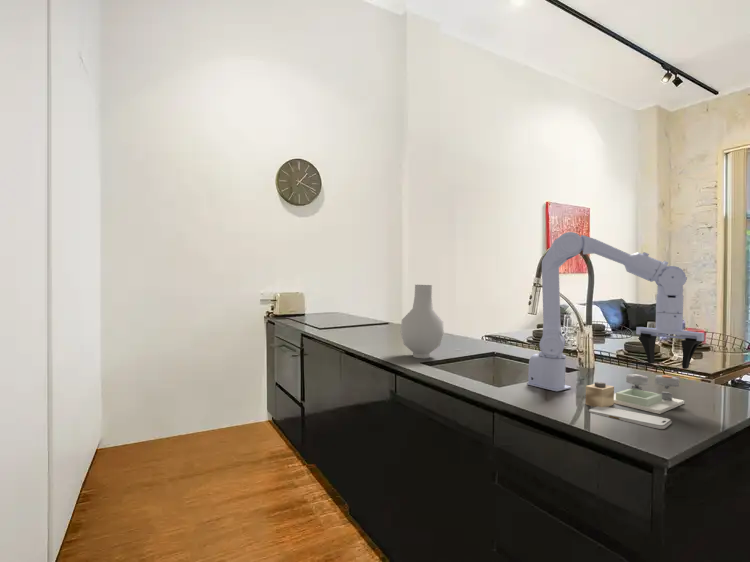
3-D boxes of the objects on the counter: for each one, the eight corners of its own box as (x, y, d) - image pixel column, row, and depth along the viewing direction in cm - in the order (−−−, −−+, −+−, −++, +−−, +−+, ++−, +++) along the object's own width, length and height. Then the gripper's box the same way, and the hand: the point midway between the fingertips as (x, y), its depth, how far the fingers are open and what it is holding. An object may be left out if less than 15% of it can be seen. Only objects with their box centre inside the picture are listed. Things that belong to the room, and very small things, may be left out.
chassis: (601, 400, 108) (602, 378, 108) (628, 391, 117) (629, 371, 117) (659, 413, 97) (660, 389, 97) (684, 403, 107) (684, 381, 107)
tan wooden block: (585, 404, 104) (586, 382, 104) (597, 401, 107) (597, 379, 107) (602, 408, 100) (602, 386, 100) (613, 405, 104) (614, 383, 104)
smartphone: (598, 404, 102) (672, 419, 91) (598, 409, 102) (672, 424, 91) (586, 410, 97) (663, 426, 86) (586, 415, 97) (663, 431, 86)
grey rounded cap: (652, 387, 108) (652, 375, 108) (659, 385, 111) (659, 373, 111) (674, 391, 104) (675, 379, 104) (681, 389, 107) (682, 377, 107)
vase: (424, 352, 175) (426, 284, 175) (451, 358, 161) (454, 285, 161) (391, 354, 165) (393, 283, 165) (418, 362, 152) (420, 284, 152)
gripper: (709, 314, 104) (707, 369, 104) (644, 310, 116) (643, 359, 116) (699, 315, 100) (697, 372, 100) (633, 310, 112) (631, 361, 112)
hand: (667, 365), depth 108 cm, fingers open, 7 cm apart
